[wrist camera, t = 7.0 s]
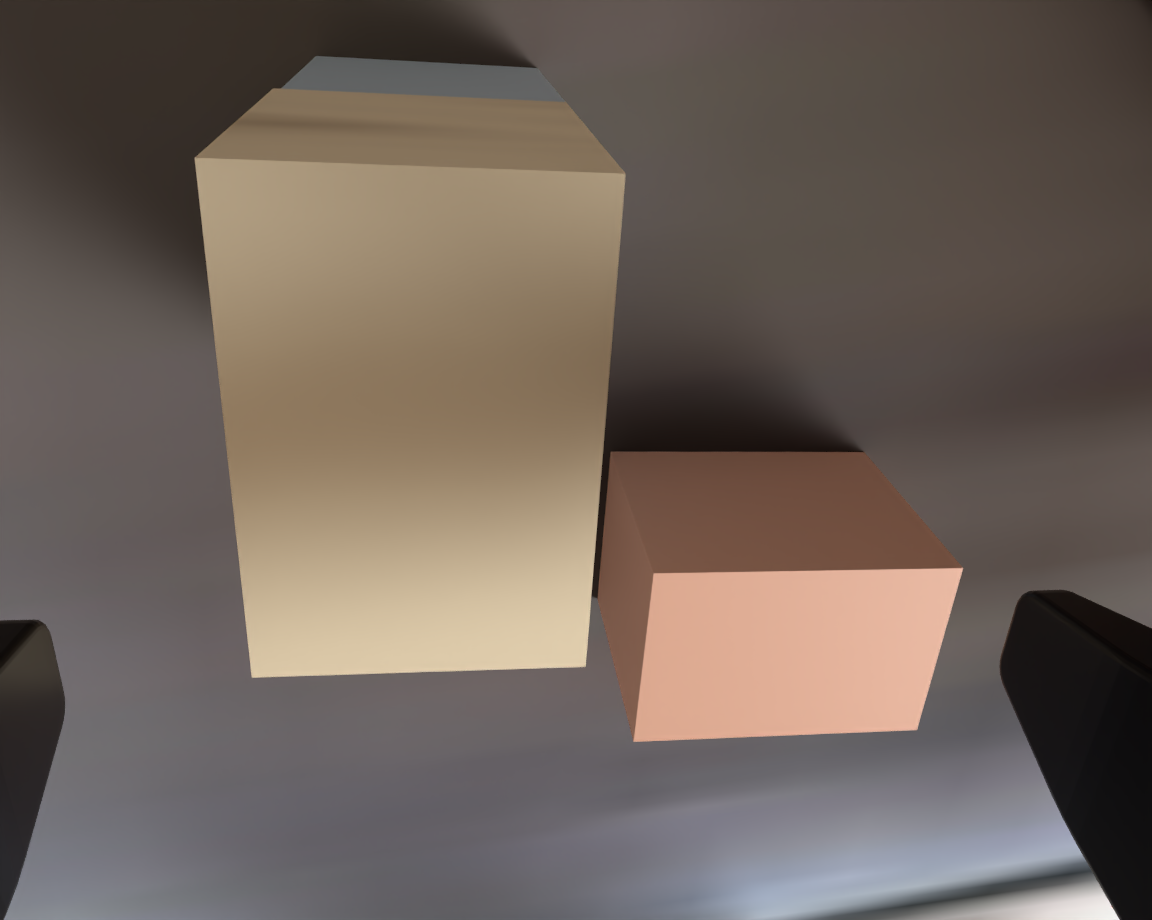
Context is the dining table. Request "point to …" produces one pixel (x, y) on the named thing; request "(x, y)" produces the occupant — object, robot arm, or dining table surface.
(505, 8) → the dining table surface
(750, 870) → the dining table surface
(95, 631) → the dining table surface
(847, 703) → the terracotta block
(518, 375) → the maple block
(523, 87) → the gray block
